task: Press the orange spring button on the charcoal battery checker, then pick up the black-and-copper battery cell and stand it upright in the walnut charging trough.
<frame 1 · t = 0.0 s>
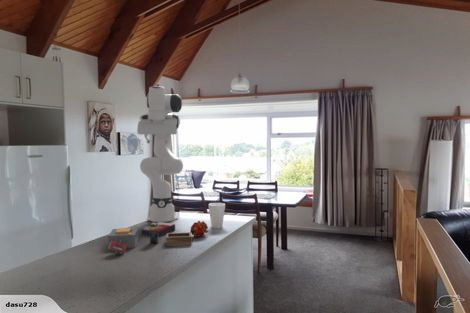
hand: (157, 143, 181), 48 cm above the counter, tool pointing down, fingers open, 8 cm apart
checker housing: (123, 244, 164), on the counter
calculator: (158, 233, 185), on the counter
charging trough: (178, 243, 166), on the counter
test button: (123, 232, 164), point 6 cm above the counter, slide at 0.0 cm
geometric puzzle: (118, 254, 150), on the counter
dragon fruit: (198, 236, 177), on the counter
foam cup: (216, 227, 197), on the counter
battery cell: (153, 243, 166), on the counter
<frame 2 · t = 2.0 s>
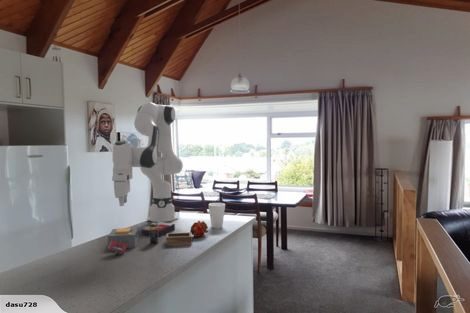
hand: (123, 204, 163), 19 cm above the counter, tool pointing down, fingers open, 6 cm apart
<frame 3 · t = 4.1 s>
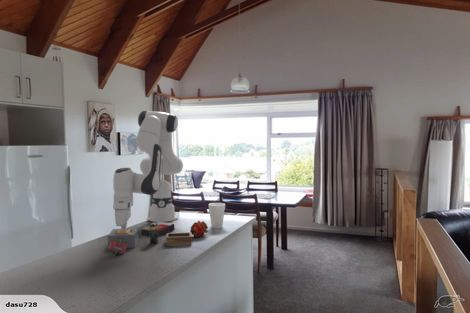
hand: (124, 231, 164), 6 cm above the counter, tool pointing down, fingers closed
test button: (123, 234, 164), point 5 cm above the counter, slide at -0.6 cm, touching gripper
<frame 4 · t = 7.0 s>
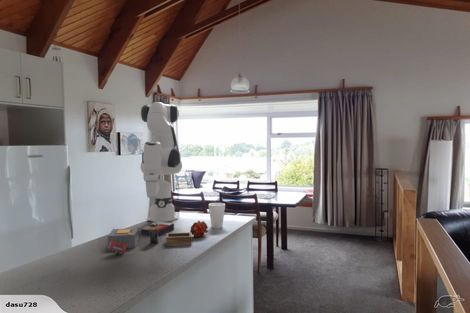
hand: (153, 203, 165), 19 cm above the counter, tool pointing down, fingers open, 7 cm apart
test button: (123, 234, 164), point 5 cm above the counter, slide at -0.6 cm
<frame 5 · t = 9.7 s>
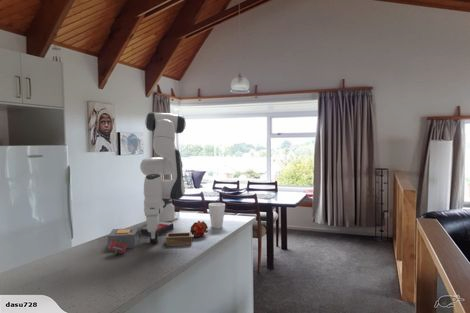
hand: (153, 236, 166), 3 cm above the counter, tool pointing down, fingers closed on battery cell, 4 cm apart
battery cell: (153, 242, 166), on the counter, touching gripper
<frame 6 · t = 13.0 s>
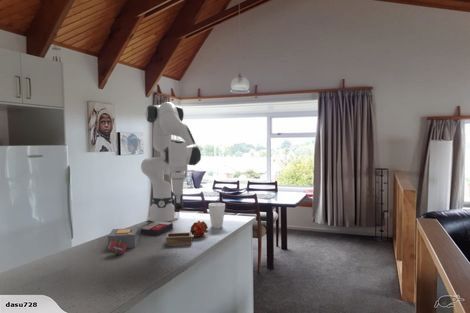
hand: (178, 201, 165), 20 cm above the counter, tool pointing down, fingers closed on battery cell, 4 cm apart
battery cell: (178, 208, 165), point 17 cm above the counter, touching gripper
when the fingers open (6 cm above the counter, at t = 16.2 s): battery cell drops 1 cm, resting on charging trough.
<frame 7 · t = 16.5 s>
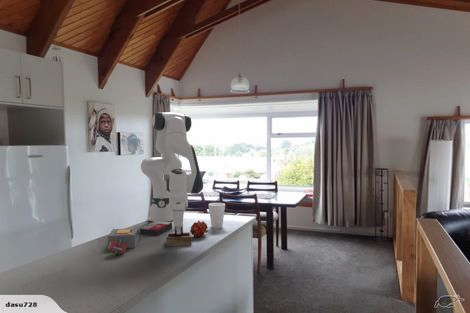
hand: (178, 231, 166), 6 cm above the counter, tool pointing down, fingers open, 6 cm apart
battery cell: (178, 240, 166), point 1 cm above the counter, touching charging trough
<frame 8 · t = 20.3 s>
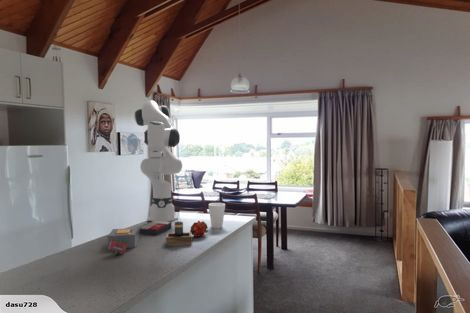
hand: (156, 180, 175), 29 cm above the counter, tool pointing down, fingers open, 8 cm apart
at the end: battery cell inside the target area on the charging trough (0.0 cm from its centre), point 1.0 cm above the charging trough's base; battery cell tilted 0°; the gripper is holding nothing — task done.
